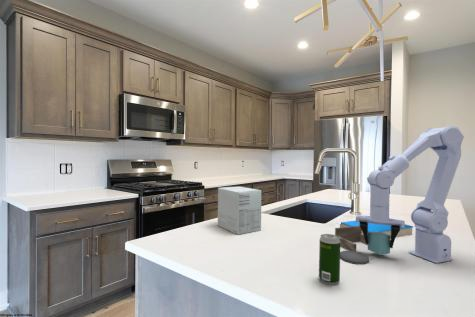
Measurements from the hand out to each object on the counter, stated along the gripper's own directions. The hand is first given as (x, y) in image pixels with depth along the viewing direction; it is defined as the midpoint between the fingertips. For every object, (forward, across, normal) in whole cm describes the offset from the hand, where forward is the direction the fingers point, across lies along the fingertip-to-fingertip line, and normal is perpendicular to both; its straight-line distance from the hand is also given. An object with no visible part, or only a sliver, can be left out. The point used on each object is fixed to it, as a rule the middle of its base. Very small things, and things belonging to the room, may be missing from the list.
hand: (378, 245), depth 90 cm
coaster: (+3, +7, +7) cm, 11 cm away
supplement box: (+3, +57, -4) cm, 57 cm away
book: (+4, +2, -31) cm, 31 cm away
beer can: (+4, +11, +27) cm, 30 cm away
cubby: (+3, +7, -6) cm, 10 cm away
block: (+2, 0, 0) cm, 2 cm away
